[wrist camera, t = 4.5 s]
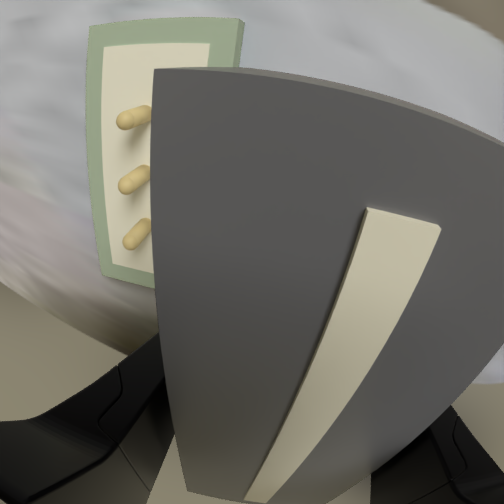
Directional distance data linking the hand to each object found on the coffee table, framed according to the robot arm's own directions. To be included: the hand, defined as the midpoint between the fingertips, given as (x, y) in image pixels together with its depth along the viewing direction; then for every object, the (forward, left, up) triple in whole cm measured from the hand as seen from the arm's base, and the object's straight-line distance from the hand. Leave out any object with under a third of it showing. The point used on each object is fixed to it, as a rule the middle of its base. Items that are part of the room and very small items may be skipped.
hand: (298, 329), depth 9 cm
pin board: (+9, 0, -11) cm, 15 cm away
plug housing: (0, 0, -1) cm, 1 cm away
